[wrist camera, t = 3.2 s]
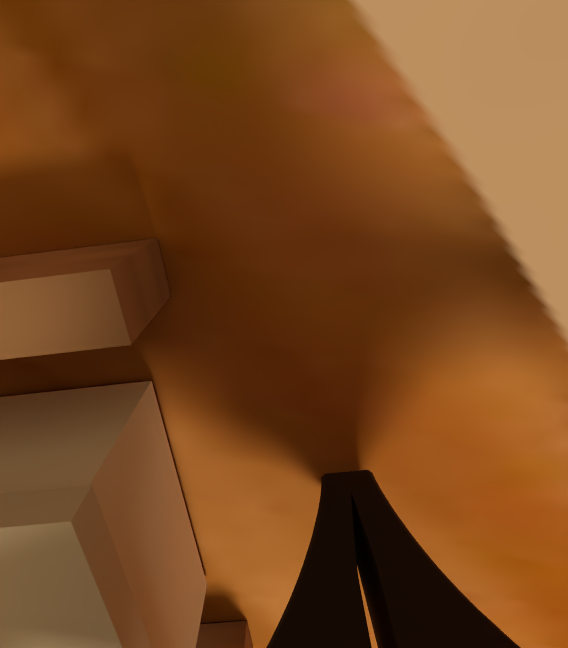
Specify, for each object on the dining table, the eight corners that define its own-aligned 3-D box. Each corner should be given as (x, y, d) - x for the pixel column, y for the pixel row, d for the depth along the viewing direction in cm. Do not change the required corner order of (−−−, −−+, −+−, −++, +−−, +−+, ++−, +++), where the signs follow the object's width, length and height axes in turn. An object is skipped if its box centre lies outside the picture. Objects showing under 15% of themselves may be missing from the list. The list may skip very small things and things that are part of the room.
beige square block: (-22, 609, 15) (-163, 818, 10) (-141, 402, 12) (-422, 565, 7) (217, 590, 15) (184, 798, 10) (159, 369, 12) (70, 522, 7)
